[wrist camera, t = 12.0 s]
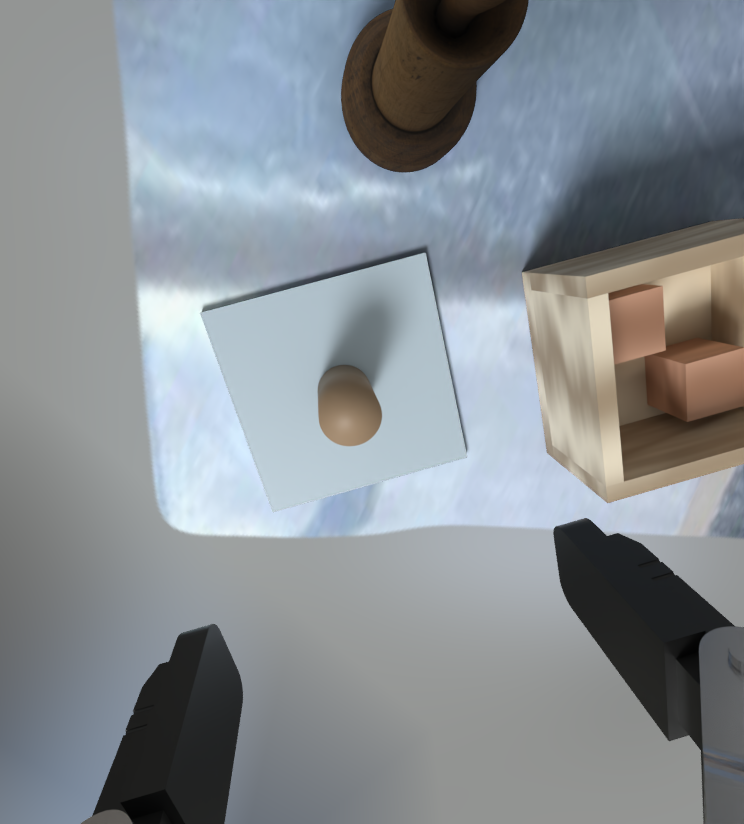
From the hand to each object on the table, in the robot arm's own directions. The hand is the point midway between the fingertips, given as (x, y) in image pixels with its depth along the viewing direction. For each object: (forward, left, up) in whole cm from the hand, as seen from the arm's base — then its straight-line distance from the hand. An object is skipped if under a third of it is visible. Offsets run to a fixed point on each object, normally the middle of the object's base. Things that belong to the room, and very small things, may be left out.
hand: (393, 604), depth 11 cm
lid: (0, 0, -20) cm, 20 cm away
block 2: (+4, +20, -18) cm, 28 cm away
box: (+2, +18, -19) cm, 26 cm away
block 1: (0, +16, -18) cm, 24 cm away
